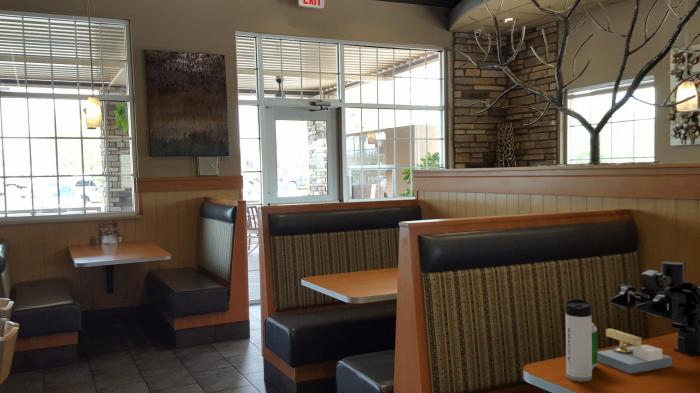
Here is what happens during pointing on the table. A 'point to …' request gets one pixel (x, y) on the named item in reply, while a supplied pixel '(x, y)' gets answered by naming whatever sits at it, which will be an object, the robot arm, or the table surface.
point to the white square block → (647, 352)
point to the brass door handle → (623, 339)
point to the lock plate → (631, 361)
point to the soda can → (594, 346)
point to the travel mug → (578, 340)
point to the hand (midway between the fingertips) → (623, 303)
